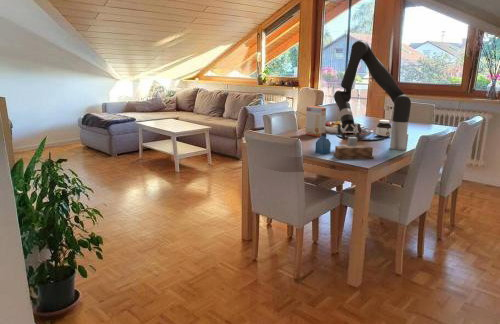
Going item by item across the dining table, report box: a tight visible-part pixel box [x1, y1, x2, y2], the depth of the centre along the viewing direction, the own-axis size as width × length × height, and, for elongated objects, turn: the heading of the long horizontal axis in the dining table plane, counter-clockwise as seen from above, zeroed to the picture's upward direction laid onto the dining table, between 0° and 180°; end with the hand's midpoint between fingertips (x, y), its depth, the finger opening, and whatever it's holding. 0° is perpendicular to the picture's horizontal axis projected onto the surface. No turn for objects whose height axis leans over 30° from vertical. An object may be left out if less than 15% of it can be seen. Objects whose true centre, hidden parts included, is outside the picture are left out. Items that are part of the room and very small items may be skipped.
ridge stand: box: [333, 145, 375, 160], centre depth 223 cm, size 20×10×6 cm, turn 95°
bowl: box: [325, 120, 342, 135], centre depth 300 cm, size 30×30×8 cm
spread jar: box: [375, 119, 392, 138], centre depth 281 cm, size 12×11×12 cm
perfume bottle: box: [314, 132, 332, 155], centre depth 231 cm, size 6×6×12 cm
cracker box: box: [305, 105, 327, 138], centre depth 281 cm, size 14×6×21 cm, turn 40°
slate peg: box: [346, 136, 358, 146], centre depth 234 cm, size 4×4×9 cm
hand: (351, 139), depth 235 cm, fingers open, 8 cm apart
